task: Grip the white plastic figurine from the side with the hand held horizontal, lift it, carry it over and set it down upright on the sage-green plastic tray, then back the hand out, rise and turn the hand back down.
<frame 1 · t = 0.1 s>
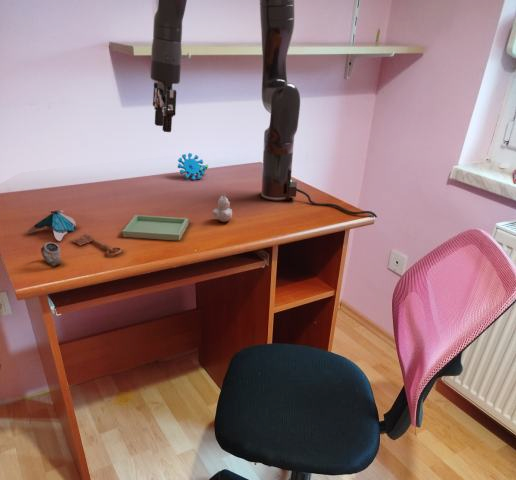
hand: (162, 128, 132), 22 cm above the table, tool pointing down, fingers open, 8 cm apart
tray: (156, 230, 131), on the table
white plastic figurine: (222, 222, 138), on the table
gear: (193, 178, 171), on the table
decorative butterfly: (56, 232, 127), on the table
grey round container: (53, 263, 112), on the table
key: (97, 247, 120), on the table
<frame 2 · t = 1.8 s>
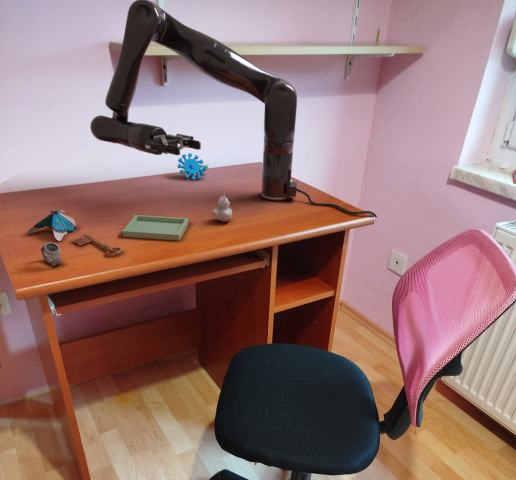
hand: (189, 148, 132), 18 cm above the table, tool horizontal, fingers open, 8 cm apart
nothing on the table moved.
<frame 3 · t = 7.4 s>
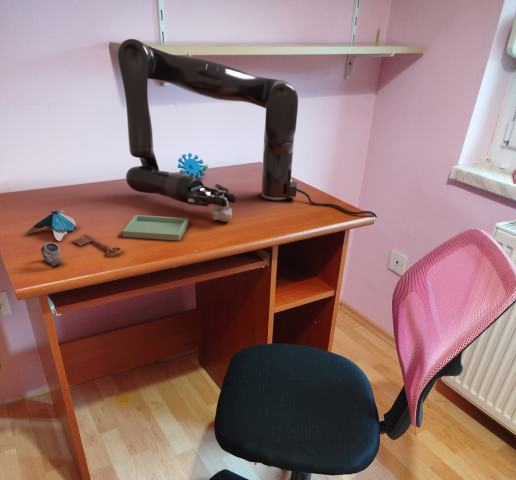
hand: (230, 201, 133), 6 cm above the table, tool horizontal, fingers closed on white plastic figurine, 3 cm apart
white plastic figurine: (222, 221, 138), on the table, touching gripper
everything else where it was.
when the fingers open (7 cm above the table, at t = 15.5 s): white plastic figurine stays where it is, resting on tray.
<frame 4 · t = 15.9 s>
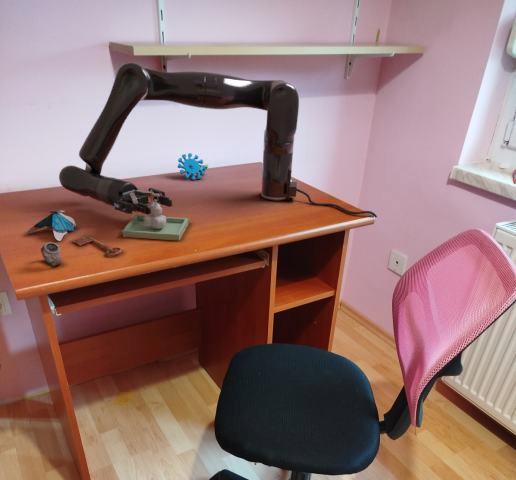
hand: (160, 206, 126), 7 cm above the table, tool horizontal, fingers open, 7 cm apart
white plastic figurine: (155, 229, 130), resting on tray
everything else where it was.
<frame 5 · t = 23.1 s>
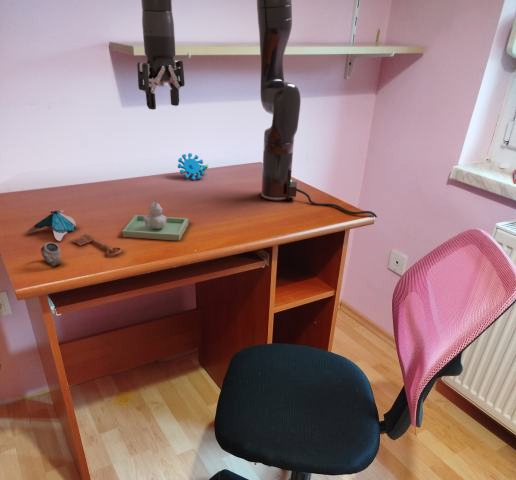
hand: (163, 107, 126), 28 cm above the table, tool pointing down, fingers open, 8 cm apart
nothing on the table moved.
at the end: white plastic figurine inside the target area in the tray (0.3 cm from its centre), point 0.2 cm above the tray's base; white plastic figurine tilted 0°; the gripper is holding nothing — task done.
